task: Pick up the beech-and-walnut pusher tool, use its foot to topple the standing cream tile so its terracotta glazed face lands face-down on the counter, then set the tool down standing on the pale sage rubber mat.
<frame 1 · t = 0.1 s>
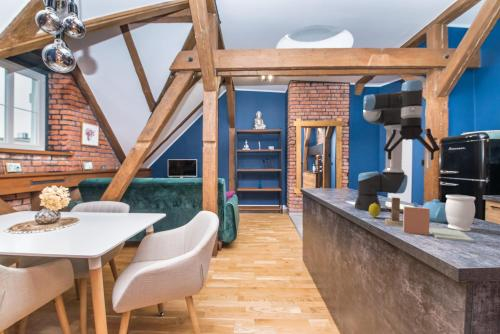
hand: (409, 167, 108), 28 cm above the table, fingers open, 13 cm apart
tile: (415, 233, 107), on the table
teapot: (434, 220, 131), on the table
tool mat: (448, 235, 104), on the table
jar: (458, 229, 114), on the table
pusher tool: (395, 224, 120), on the table
lemon: (374, 218, 134), on the table
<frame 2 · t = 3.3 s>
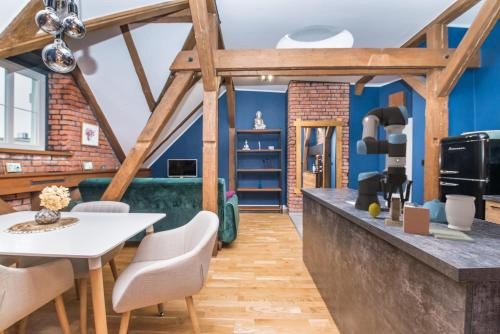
hand: (395, 215, 120), 5 cm above the table, fingers closed on pusher tool, 3 cm apart
pusher tool: (395, 224, 120), on the table, touching gripper
everything else where it was.
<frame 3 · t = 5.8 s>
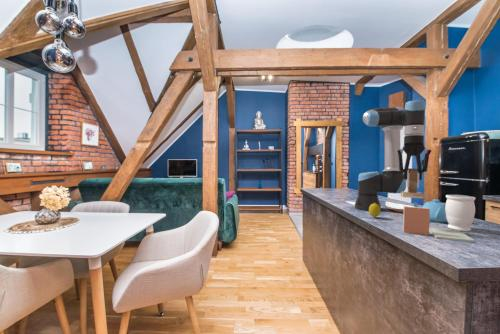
hand: (412, 186, 114), 19 cm above the table, fingers closed on pusher tool, 3 cm apart
pusher tool: (412, 197, 114), point 14 cm above the table, touching gripper
everything else where it was.
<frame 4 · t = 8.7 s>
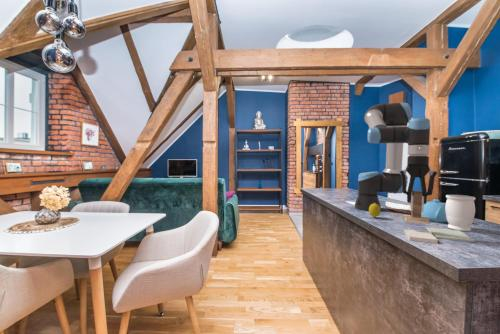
hand: (416, 210, 106), 10 cm above the table, fingers closed on pusher tool, 3 cm apart
tile: (416, 232, 105), on the table, tilted 90°
pusher tool: (415, 221, 106), point 5 cm above the table, touching gripper
everything else where it was.
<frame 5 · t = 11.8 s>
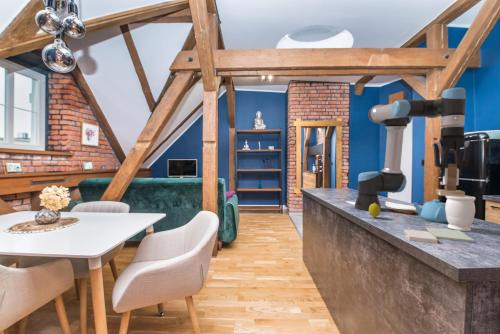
hand: (450, 184, 103), 21 cm above the table, fingers closed on pusher tool, 3 cm apart
pusher tool: (450, 195, 103), point 17 cm above the table, touching gripper
everything else where it was.
when the fingers open (7 cm above the table, at t = 14.5 s): pusher tool drops 1 cm, resting on tool mat.
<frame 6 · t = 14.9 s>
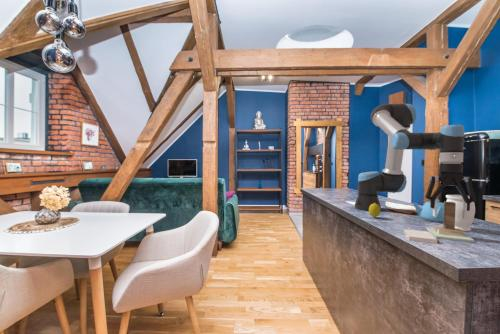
hand: (449, 217, 104), 8 cm above the table, fingers open, 9 cm apart
pusher tool: (448, 233, 104), point 1 cm above the table, touching tool mat
everything else where it was.
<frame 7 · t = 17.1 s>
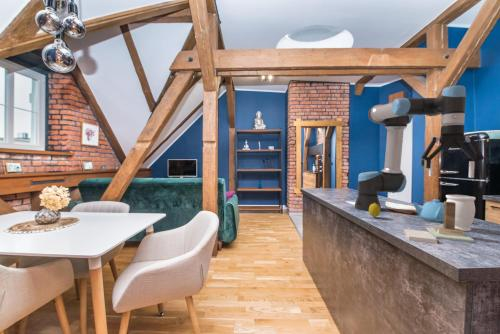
hand: (450, 177, 103), 24 cm above the table, fingers open, 13 cm apart
nothing on the table moved.
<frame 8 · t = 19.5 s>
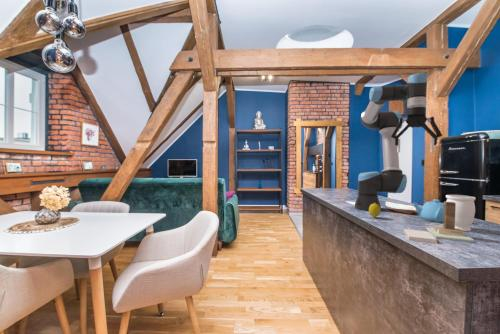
hand: (414, 152, 119), 35 cm above the table, fingers open, 13 cm apart
nothing on the table moved.
at the end: tile tilted 90°; pusher tool inside the target area on the tool mat (0.1 cm from its centre), point 0.8 cm above the tool mat's base; the gripper is holding nothing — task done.
